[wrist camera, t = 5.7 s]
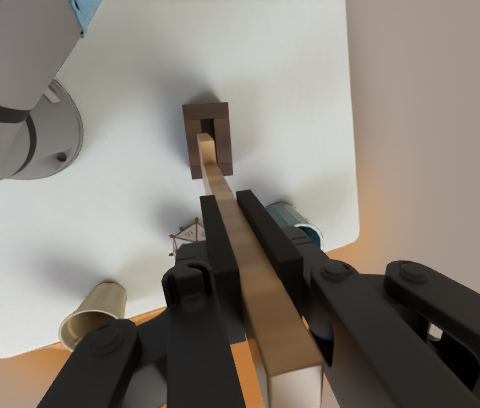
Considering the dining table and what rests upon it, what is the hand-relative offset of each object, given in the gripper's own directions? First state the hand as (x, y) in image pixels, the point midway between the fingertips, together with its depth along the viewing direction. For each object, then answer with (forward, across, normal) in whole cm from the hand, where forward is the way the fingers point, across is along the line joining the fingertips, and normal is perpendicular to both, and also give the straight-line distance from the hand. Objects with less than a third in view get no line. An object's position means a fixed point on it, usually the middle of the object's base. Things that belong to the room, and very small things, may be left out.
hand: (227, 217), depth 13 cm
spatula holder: (+29, +1, +1) cm, 29 cm away
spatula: (+17, 0, 0) cm, 17 cm away
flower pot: (+30, -20, -26) cm, 44 cm away
